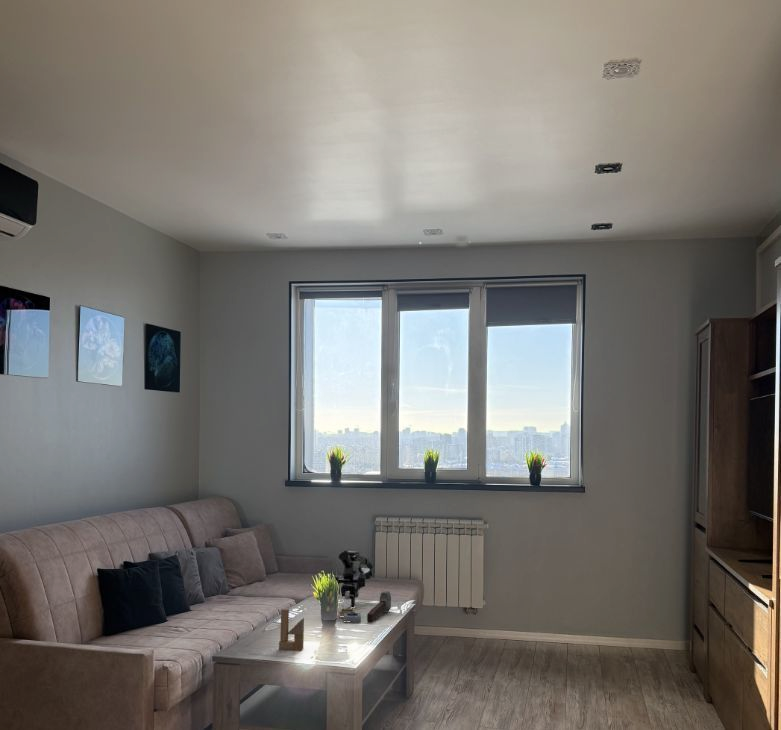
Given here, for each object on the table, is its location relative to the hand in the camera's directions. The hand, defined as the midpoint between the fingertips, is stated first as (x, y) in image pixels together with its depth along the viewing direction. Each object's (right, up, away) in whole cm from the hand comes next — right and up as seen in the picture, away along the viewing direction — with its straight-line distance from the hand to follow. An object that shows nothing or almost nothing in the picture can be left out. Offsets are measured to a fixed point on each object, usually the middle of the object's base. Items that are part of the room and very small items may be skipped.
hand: (347, 594), depth 437 cm
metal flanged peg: (0, -10, -5) cm, 11 cm away
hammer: (+17, -11, -5) cm, 21 cm away
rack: (0, -10, -5) cm, 11 cm away
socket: (+3, -9, -15) cm, 18 cm away
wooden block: (-22, -5, -72) cm, 75 cm away
